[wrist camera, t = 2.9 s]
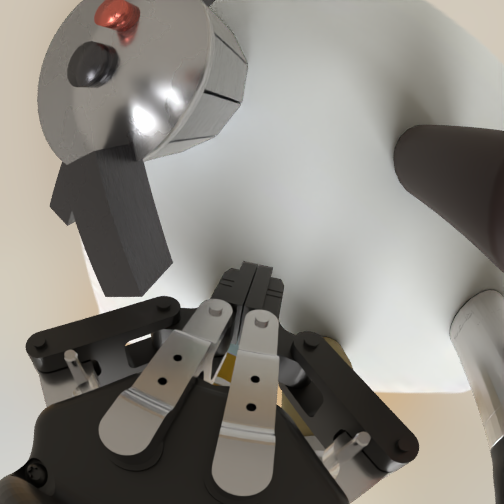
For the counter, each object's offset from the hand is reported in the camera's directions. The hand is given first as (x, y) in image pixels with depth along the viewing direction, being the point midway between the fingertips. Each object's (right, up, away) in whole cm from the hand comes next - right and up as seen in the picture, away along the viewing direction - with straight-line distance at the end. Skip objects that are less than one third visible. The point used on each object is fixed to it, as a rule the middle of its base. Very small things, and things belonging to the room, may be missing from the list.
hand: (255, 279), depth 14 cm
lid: (-9, +10, 0) cm, 14 cm away
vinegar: (+15, +10, +6) cm, 19 cm away
